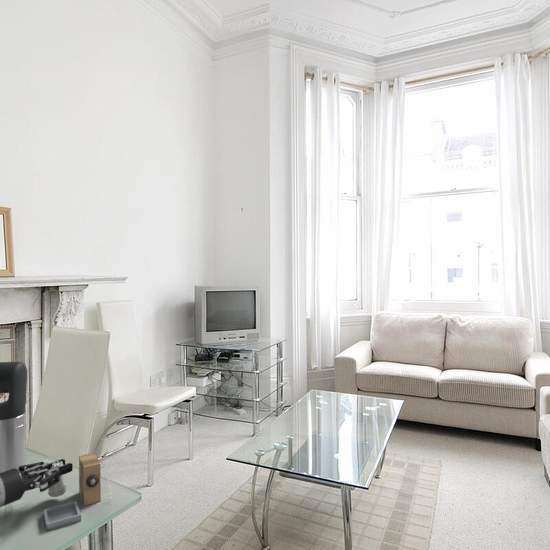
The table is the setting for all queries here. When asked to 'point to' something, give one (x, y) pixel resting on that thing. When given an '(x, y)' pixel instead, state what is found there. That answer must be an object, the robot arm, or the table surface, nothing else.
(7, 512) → the table surface
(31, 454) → the table surface
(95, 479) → the block
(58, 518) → the tray
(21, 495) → the robot arm
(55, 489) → the rook chess piece
